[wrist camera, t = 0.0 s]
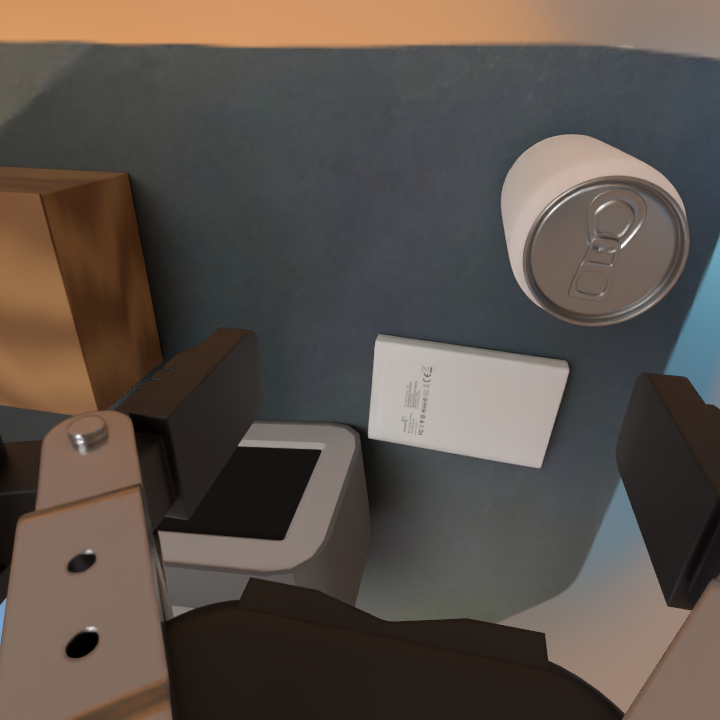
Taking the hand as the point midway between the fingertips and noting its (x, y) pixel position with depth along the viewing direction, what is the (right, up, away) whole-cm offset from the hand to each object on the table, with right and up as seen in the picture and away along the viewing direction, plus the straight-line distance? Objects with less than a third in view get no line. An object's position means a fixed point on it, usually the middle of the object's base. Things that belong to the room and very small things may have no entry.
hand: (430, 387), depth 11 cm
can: (+10, +10, +18) cm, 23 cm away
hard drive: (+6, -2, +26) cm, 26 cm away
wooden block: (-23, +7, +27) cm, 36 cm away
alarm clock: (-8, -9, +33) cm, 35 cm away
